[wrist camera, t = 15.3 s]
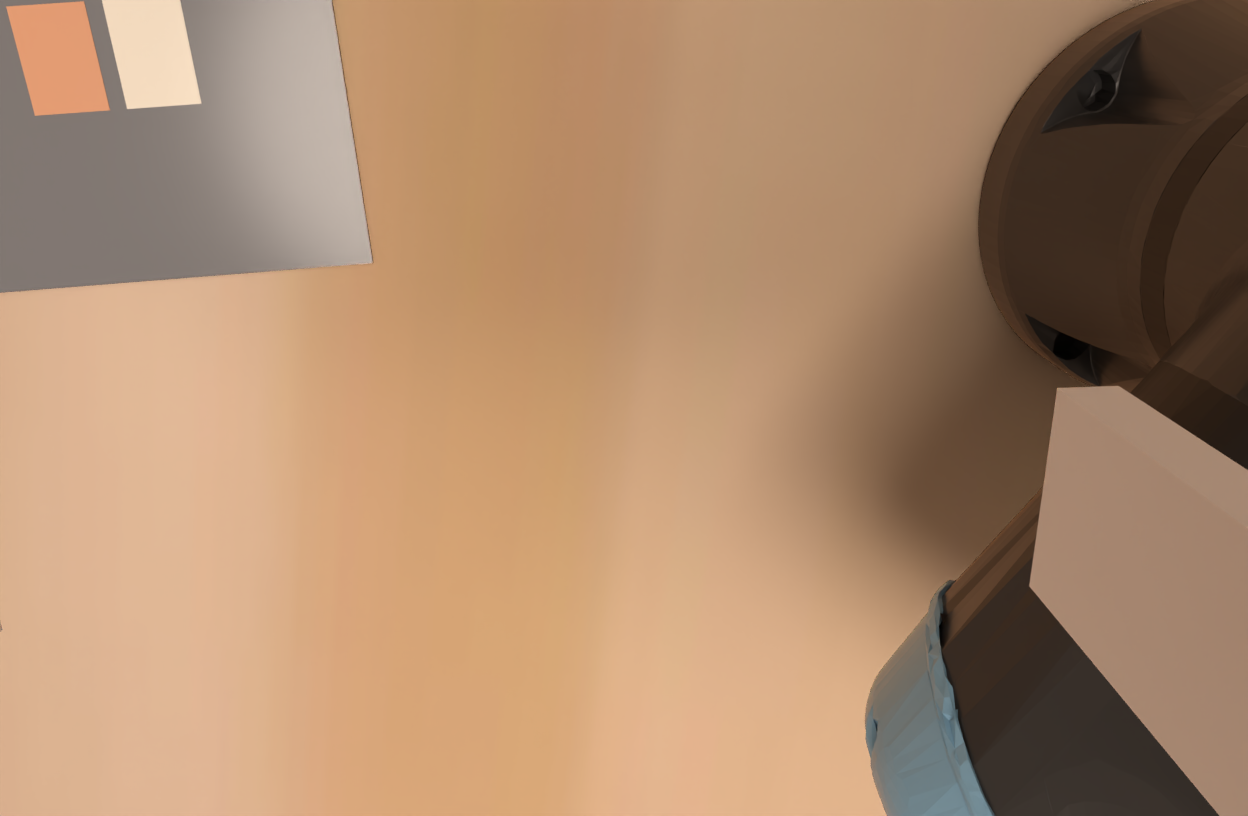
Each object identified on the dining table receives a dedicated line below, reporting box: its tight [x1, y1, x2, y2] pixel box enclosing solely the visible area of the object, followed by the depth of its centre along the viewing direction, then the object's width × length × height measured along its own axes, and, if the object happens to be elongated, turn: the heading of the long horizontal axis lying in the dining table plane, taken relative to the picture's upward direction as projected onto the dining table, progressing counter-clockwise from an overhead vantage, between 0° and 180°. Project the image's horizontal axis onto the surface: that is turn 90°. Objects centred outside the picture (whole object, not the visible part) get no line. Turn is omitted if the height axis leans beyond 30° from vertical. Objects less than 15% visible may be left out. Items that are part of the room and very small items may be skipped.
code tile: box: [0, 0, 373, 293], centre depth 36 cm, size 16×16×1 cm
